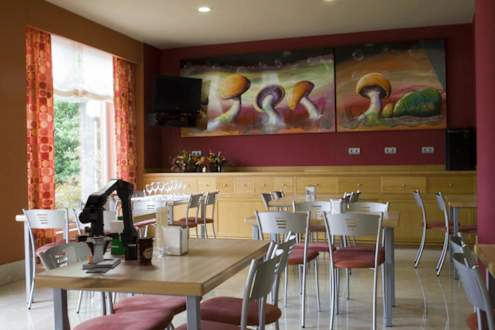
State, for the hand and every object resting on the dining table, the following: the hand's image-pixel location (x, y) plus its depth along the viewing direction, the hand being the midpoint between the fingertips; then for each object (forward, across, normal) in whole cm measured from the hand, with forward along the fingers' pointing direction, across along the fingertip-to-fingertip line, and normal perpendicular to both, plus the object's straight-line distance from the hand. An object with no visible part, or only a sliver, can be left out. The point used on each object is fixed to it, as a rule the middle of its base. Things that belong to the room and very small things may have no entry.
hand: (98, 255), depth 249 cm
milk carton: (+7, -22, -42) cm, 48 cm away
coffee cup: (+7, -23, -2) cm, 24 cm away
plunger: (+6, 0, -10) cm, 12 cm away
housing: (+7, -5, -13) cm, 15 cm away
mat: (+7, 0, 0) cm, 7 cm away
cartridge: (+3, 0, 0) cm, 3 cm away
